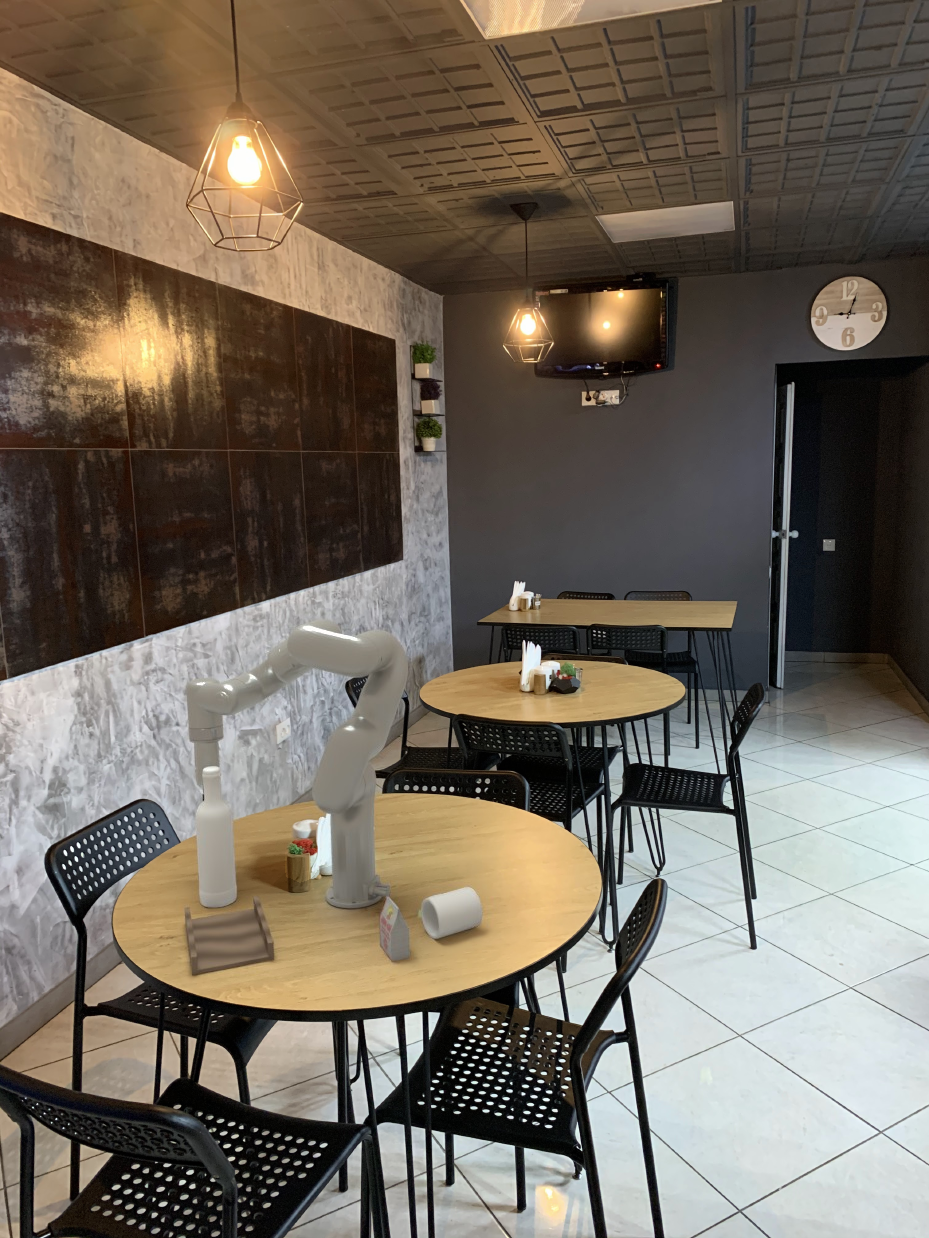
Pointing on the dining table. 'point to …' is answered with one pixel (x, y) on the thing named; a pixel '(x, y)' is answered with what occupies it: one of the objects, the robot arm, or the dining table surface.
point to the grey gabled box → (393, 932)
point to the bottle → (215, 844)
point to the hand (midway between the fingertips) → (210, 810)
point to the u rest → (228, 939)
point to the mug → (451, 912)
